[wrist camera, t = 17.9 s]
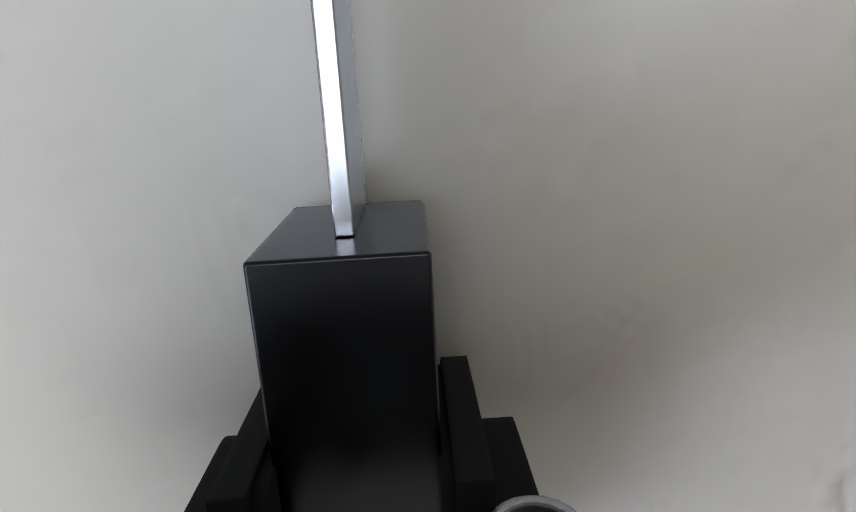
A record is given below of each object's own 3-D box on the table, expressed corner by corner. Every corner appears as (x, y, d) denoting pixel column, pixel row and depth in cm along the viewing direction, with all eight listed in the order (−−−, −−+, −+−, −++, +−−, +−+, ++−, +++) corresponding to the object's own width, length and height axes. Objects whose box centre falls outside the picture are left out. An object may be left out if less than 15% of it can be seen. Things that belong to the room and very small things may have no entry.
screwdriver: (444, 587, 13) (458, 761, 10) (339, 595, 13) (316, 772, 10) (383, -513, 8) (367, -960, 5) (209, -507, 8) (60, -957, 5)
